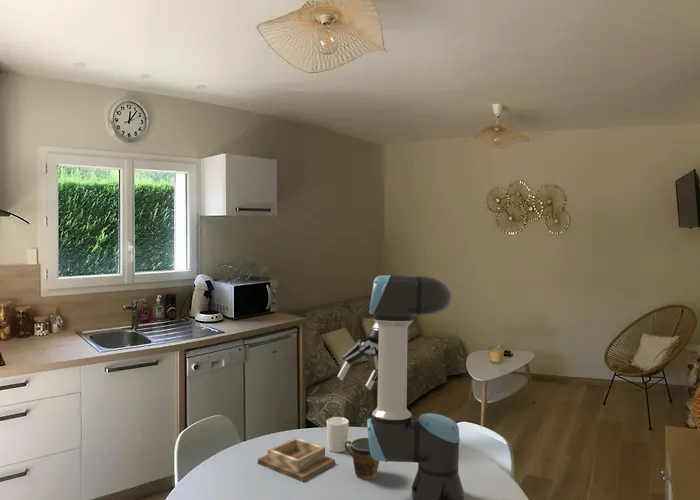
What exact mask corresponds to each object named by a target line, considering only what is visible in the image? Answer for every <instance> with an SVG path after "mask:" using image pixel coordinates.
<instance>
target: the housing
mask: <svg viewBox="0 0 700 500" xmlns="http://www.w3.org/2000/svg"><path fill="white" fill-rule="evenodd" d="M257 464H258V465H260V466H263V467H265V468H268V469H270V470H273V471H276V472H278V473H280V474H282V475H285V476H287V477H289V478H292V479H295V480H297V481H299V482H302V483H304V481H306V480H309V479H311V478H312V477H314V476H317V474H319V473H321V472H322V471H325V470H326V469H328V468H330V467H332V466H334V465H335V464H336V459H335V458H333V457H330V456H327V455H326V446H325V447H324V446H322V445H318V444H316V443H312V442H310V441H307V440H304V439H301V438H297V437H293V438H291V439H290V440H287V441H285V442H283V443H280V444H278V445H276V446H273V447H271V448H269V449H268V450H267V454H266V455H264V456H262V457H259V458H257Z"/></svg>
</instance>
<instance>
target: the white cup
mask: <svg viewBox="0 0 700 500" xmlns="http://www.w3.org/2000/svg"><path fill="white" fill-rule="evenodd" d="M349 423H350V421H349V419H347V417H346V418H345V417H341V416H334V417H330V418H327V419H326V438H327V439H326V440H327V441H326V442H327V450H328V451H330V452H333V453H342V452H345V451H347V450H346V449H345V446H344V445H345V442H347V441H348V435H349ZM347 445H348V443H346V447H347ZM347 448H348V447H347Z"/></svg>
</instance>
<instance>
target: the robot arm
mask: <svg viewBox="0 0 700 500" xmlns="http://www.w3.org/2000/svg"><path fill="white" fill-rule="evenodd" d="M452 297H453V296H452V292H451V290H450V287H448V285H447V284H446V283H444V282H442V281H441V280H439V279H437V278H434V277H430V276H425V275H396V274H395V275H393V274H389V275H386V274H385V275H378V276H375V278H374V279H373V285H372V290H371V297H370V298H371V299H370V303H369V304H370V305H369V311H368V313H369V314H370V315H373V321H374V323H373V326H372V327H371V329H370V331H369V333H368V335H367V336H366V341H364V342H363V341H362V340H361V339H358V340H357V342H356V343H355V345H353V346H352V347H351V348H350V349H349V350H347V351H346V352H345V353H344V354H343V355H342V356H341V359H342V360H343V363H342V364H341V366H340V370H339V373H338V374H337V378H338V379H339V380H341V381H344V378H345V376H346V374H347V373H348V371H349V369H350V367H351V363H353V362H355V361H357V360H358V359H360V358H362V357H365V356H367V357H371V358H373V361H374V365H375V366H374V367H375V369H373V371H372V372H371V374H370V376H369V378H368V380H367V381H366V384H365V387H366V388H367V389H368V390H369V391H371V390H372V388H373V386H374V383H375V382H377V406H376V408H375V409H374V410H373V411H372V412H371V417H370V418H368V419H367V421H366V422H367V423H366V428H367V438H368V440H369V448H370V454H371V457H372V458H373V459H374V460H377V461H379V462H385V463H388V462H392V463H394V462H396V463H418V465H417V472H416V473H415V477H414V479H413V482H412V486H411V498H412V500H465V491H464V487H463V483H462V480H461V478H460V474H459V462H460V461H459V456H460V453H459V452H460V441H461V439H460V428H459V425H458V424H457V422H455V420H453V419H452V418H449V417H447V416H446V415H443V414H437V413H431V412H429V413H422V414H421V415H420V416H419V417H418V420H417V419H416V420H413V419H412V418H413V417H412V415H413V414H412V413H411V411H410V410H408V408H407V401H408V399H407V397H408V395H407V393H408V392H407V389H408V388H407V385H408V384H407V383H408V329H409V328H408V327H409V326H410V325H411V324H412V323H413V322H414V321H413V320H414V316H427V315H434V314H441V313H442V312H445V311H446V310H447V309H448V308H449V307H450V305H451V303H452Z"/></svg>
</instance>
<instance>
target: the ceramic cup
mask: <svg viewBox="0 0 700 500" xmlns="http://www.w3.org/2000/svg"><path fill="white" fill-rule="evenodd" d="M346 443H347V445H350V450H349V448H348V447H346ZM344 446H345V449H346V450H345V451H347V452H348V454H349V455H350V456H351V458H352V461H353V467H354V474H355V475H356V477H357V478H358V479H361V480H373V479H374V478H376V477H377V474H378V468H379V464H380V461H377V460H374V459H373V458H372V457H371V454H370V448H369V440H368V437H359V438H356V439H353V440H352V441H350V440H347V442H345V445H344Z"/></svg>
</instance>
